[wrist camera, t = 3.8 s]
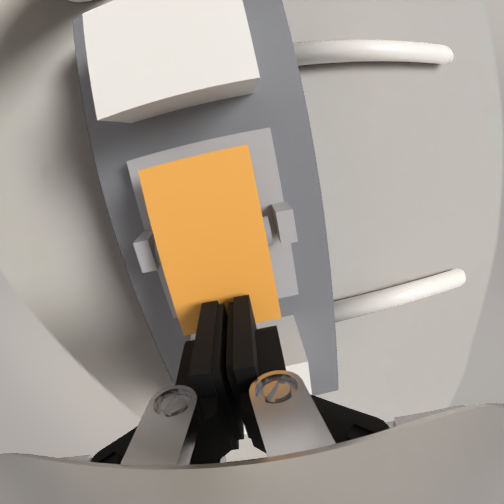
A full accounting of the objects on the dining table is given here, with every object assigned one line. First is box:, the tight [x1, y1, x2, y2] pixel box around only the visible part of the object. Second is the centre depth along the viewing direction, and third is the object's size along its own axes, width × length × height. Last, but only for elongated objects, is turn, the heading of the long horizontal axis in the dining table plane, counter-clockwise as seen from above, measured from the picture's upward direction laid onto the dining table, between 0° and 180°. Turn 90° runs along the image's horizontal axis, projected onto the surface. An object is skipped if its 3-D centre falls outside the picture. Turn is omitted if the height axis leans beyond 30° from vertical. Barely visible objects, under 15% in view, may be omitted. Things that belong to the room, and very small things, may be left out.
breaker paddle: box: [138, 144, 282, 335], centre depth 11 cm, size 6×4×1 cm, turn 11°
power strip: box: [73, 0, 466, 435], centre depth 13 cm, size 22×19×6 cm
